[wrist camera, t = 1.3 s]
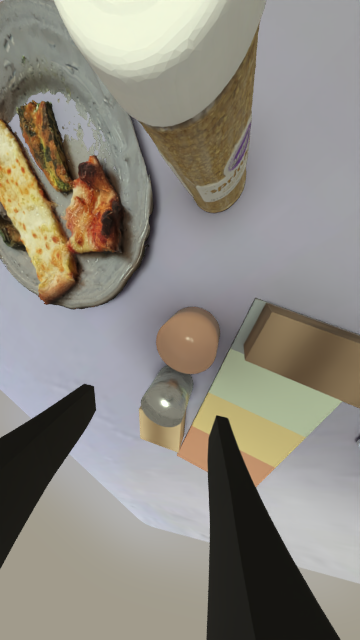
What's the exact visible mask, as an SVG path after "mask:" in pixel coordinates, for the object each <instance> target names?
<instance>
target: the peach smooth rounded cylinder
mask: <svg viewBox="0 0 360 640" xmlns="http://www.w3.org/2000/svg"><path fill="white" fill-rule="evenodd" d="M219 337H220V328H219V325H218V322H217V320H216V319H215V318H214V316H213V315H212V314H211V313H209V312H208V311H206V310H204V309H202V308H199V307H186V308H183V309H181V310H179V311H178V312H177V313H176V314H175V315H173V316H172V317H171V318H170V319H169V320H168V321H167V322H166V323H165V324H164V325H163V326H162V327H161V328H160V330H159V332H158V334H157V339H156V345H157V350H158V353H159V355H160V357H161V358H162V360H163V361H164V362H165V363H166V364H167V365H168V366H169V367H171V368H172V369H174V370H176V371H178V372H181V373H186V374H196V373H200V372H203V371H205V370H206V369H208V368H209V367H210V366H211V365H212V363H213V362H214V360H215V357H216V352H217V347H218V342H219Z"/></svg>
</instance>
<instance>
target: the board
mask: <svg viewBox="0 0 360 640" xmlns="http://www.w3.org/2000/svg"><path fill="white" fill-rule="evenodd" d="M266 303H268V302H265V301H263V300H260V299H257V298H255V300H254V302H253V304H252V306H251V308H250V310H249V312H248V314H247V316H246V318H245V320H244V322H243V324H242V326H241V328H240V330H239V332H238V334H237V336H236V338H235V340H234V342H233V344H232V346H231V348H230V350H229V352H228V354H227V356H226V358H225V360H224V362H223V364H222V366H221V368H220V370H219V372H218V374H217V375H216V377H215V379H214V381H213V383H212V385H211V387H210V389H209V391H208V393H207V395H206V397H205V399H204V401H203V403H202V405H201V407H200V409H199V411H198V413H197V415H196V417H195V419H194V421H193V423H192V425H191V427H190V429H189V431H188V433H187V435H186V437H185V439H184V441H183V443H182V445H181V447H180V450H179V453H177V456H179V457H181V458H183V459H185V460H186V461H188V462H190V463H192V464H194V465H196V466H197V467H199V468H201V469H203V470H205V471H207V472H208V462H207V458H208V438H209V435H210V432H211V429H212V426H213V423H214V421H215V418H216V415H218V416H222V417H226V418H228V419H229V422H230V425H231V428H232V431H233V434H234V436H235V439H236V442H237V444H238V447H239V450H240V452H241V455H242V457H243V459H244V462H245V464H246V467H247V469H248V471H249V474H250V476H251V478H252V480H253V483H254V485H255V487H256V486H257V485H258V484H259V483H261V482H262V481H263V480H264V479H265V478H266V477H267V476H268V475H269V474H270V473H271V472H272V471H273V470H274V469H275V468H276V467H277V466H278V465H279V464H280V463H281V462H282V461H283V460H284V459H285V458H286V457H287V456H288V455H289V454H290V453H291V452H292V451H293V450H294V449H295V448H296V447H297V446H298V445H299V444H300V443H301V442H302V441H303V440H304V439H305V438H306V437H307V436H308V435H309V434H310V433H311V432H312V431H313V430H314V429H315V428H316V427H317V426H318V425H319V424H320V423H321V422H322V421H323V420H324V419H325V418H326V417H327V416H328V415H329V414H330V413H331V412H332V411H333V410H334V409H335V408H336V407H337V406H338V405H339V404H340V403H341V402H342V401H341V400H338V399H336V398H334V397H331V396H329V395H326V394H324V393H322V392H319V391H317V390H314V389H312V388H310V387H307V386H305V385H303V384H300V383H298V382H295V381H293V380H291V379H288V378H286V377H283V376H281V375H279V374H276V373H274V372H271V371H269V370H267V369H264V368H262V367H259V366H257V365H255V364H252V363H250V362H248V361H245V358H244V343H245V341H246V339H247V337H248V336H249V334H250V332H251V330H252V328H253V326H254V324H255V323H256V321H257V319H258V317H259V315H260V313H261V311H262V310H263V308H264V306H265V304H266ZM269 304H271V303H269ZM272 305H274V304H272ZM274 306H277V305H274ZM277 307H280V306H277ZM280 308H282V307H280ZM283 309H285V308H283ZM286 310H288V309H286ZM289 311H291V310H289ZM291 312H294V311H291ZM294 313H296V312H294ZM297 314H299V313H297ZM300 315H302V314H300ZM303 316H305V315H303ZM305 317H308V316H305ZM308 318H311V317H308ZM311 319H313V318H311ZM314 320H316V319H314ZM317 321H319V320H317ZM319 322H322V321H319ZM322 323H325V322H322ZM325 324H327V323H325ZM328 325H330V324H328ZM331 326H333V325H331ZM333 327H336V326H333ZM336 328H339V327H336ZM339 329H341V328H339ZM342 330H344V329H342ZM345 331H347V330H345ZM348 332H350V331H348ZM350 333H353V332H350ZM353 334H356V333H353ZM356 335H358V334H356ZM359 336H360V335H359Z"/></svg>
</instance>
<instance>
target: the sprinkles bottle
mask: <svg viewBox="0 0 360 640" xmlns="http://www.w3.org/2000/svg"><path fill="white" fill-rule="evenodd" d="M54 2H55V5H56V7H57V9H58V11H59V14H60V16H61V18H62V20H63V22H64V24H65V26H66V28H67V30H68V32H69V34H70V36H71V38H72V39H73V41H74V43H75V44H76V46H77V47H78V49H79V50H80V51H81V53H82V54H83V56H84V57H85V59H86V60H87V61H88V63H89V64H90V66H91V67H92V69H93V70H94V71H95V73H96V74H97V76H98V77H99V78H100V80H101V81H102V82H103V84H104V85H105V86H106V88H107V89H108V90H109V92H110V93H111V94H112V96H113V97H114V98H115V99H116V101H117V102H118V103H119V104H120V106H121V107H122V108H123V109H124V110H125V111H126V112H127V113H128V114H129V115H130V116H132V117H133V118H135V119H136V120H138V121H139V122H140V123H141V124H142V126H143V127H144V129H145V130H146V132H147V133H148V134H149V136H150V137H151V138H152V140H153V142H154V143H155V144H156V146H157V148H158V150H159V152H160V154H161V156H162V157H163V159H164V160H165V161H166V163H167V164H168V165H169V167H170V168H171V169H172V171H173V172H174V173H175V175H176V176H177V177H178V179H179V180H180V182H181V183H182V184H183V186H184V187H185V188H186V189H187V191H188V192H189V193H190V194H191V195H192V196H193V198H194V200H195V202H196V203H197V205H198V206H199V207H200V208H201V209H203V210H204V211H206V212H211V213H216V212H221V211H224V210H226V209H228V208H229V207H230V206H231V205H233V203H234V202H235V201H236V200H237V199H238V198H239V196H240V195H241V193H242V191H243V188H244V185H245V180H246V163H247V158H248V148H249V139H250V129H251V121H252V112H251V107H252V97H253V86H254V74H255V67H256V50H257V42H258V31H259V23H260V19H261V16H262V14H263V11H264V7H265V4H266V0H54Z"/></svg>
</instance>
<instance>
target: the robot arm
mask: <svg viewBox="0 0 360 640" xmlns="http://www.w3.org/2000/svg"><path fill="white" fill-rule="evenodd" d="M95 411H96V404H95V393H94V386H91V385H87V384H83V385H82V386H80V387H79V388H77V389H76V390H74V391H73V392H71V393H70V394H69V395H67V396H66V397H64V398H63V399H61V400H60V401H58V402H57V403H55V404H54V405H52V406H51V407H49V408H48V409H46V410H45V411H43V412H42V413H40V414H39V415H37V416H36V417H34V418H32V419H31V420H29V421H28V422H26V423H24V424H23V425H21V426H19V427H18V428H16V429H15V430H13V431H11V432H10V433H8V434H6V435H4V436H3V437H1V438H0V568H1V566H2V565H3V563H4V561H5V559H6V557H7V555H8V554H9V552H10V550H11V548H12V546H13V544H14V542H15V541H16V539H17V537H18V535H19V534H20V532H21V530H22V528H23V526H24V525H25V523H26V521H27V520H28V518H29V516H30V514H31V513H32V511H33V509H34V507H35V506H36V504H37V502H38V501H39V499H40V497H41V495H42V494H43V492H44V490H45V489H46V487H47V485H48V484H49V482H50V481H51V479H52V478H53V476H54V474H55V473H56V472H57V470H58V469H59V467H60V466H61V464H62V463H63V461H64V460H65V459H66V457H67V456H68V454H69V453H70V451H71V450H72V448H73V447H74V445H75V444H76V443H77V441H78V440H79V438H80V437H81V435H82V434H83V432H84V431H85V429H86V428H87V426H88V424H89V422H90V420H91V419H92V417H93V415H94V413H95ZM357 444H358V446H359V447H360V439H359V440H358V441H357ZM207 462H208V487H209V510H210V554H209V556H210V557H209V590H208V616H207V617H208V618H207V640H340V638H339V637H338V635H337V633H336V632H335V630H334V628H333V627H332V625H331V623H330V622H329V620H328V619H327V617H326V615H325V614H324V612H323V610H322V609H321V607H320V605H319V604H318V602H317V600H316V598H315V597H314V595H313V593H312V592H311V590H310V588H309V587H308V585H307V583H306V581H305V580H304V578H303V576H302V574H301V573H300V571H299V569H298V567H297V566H296V564H295V562H294V561H293V559H292V557H291V555H290V553H289V552H288V550H287V548H286V546H285V544H284V542H283V541H282V539H281V537H280V535H279V533H278V531H277V529H276V527H275V526H274V524H273V522H272V520H271V518H270V516H269V514H268V512H267V510H266V508H265V506H264V504H263V502H262V500H261V498H260V496H259V493H258V491H257V489H256V487H255V485H254V483H253V480H252V478H251V476H250V474H249V471H248V469H247V467H246V464H245V462H244V459H243V457H242V455H241V452H240V450H239V447H238V444H237V442H236V439H235V436H234V434H233V431H232V428H231V425H230V422H229V419H228V418H226V417H222V416H218V415H216V418H215V421H214V423H213V426H212V429H211V432H210V435H209V438H208V458H207Z"/></svg>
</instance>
